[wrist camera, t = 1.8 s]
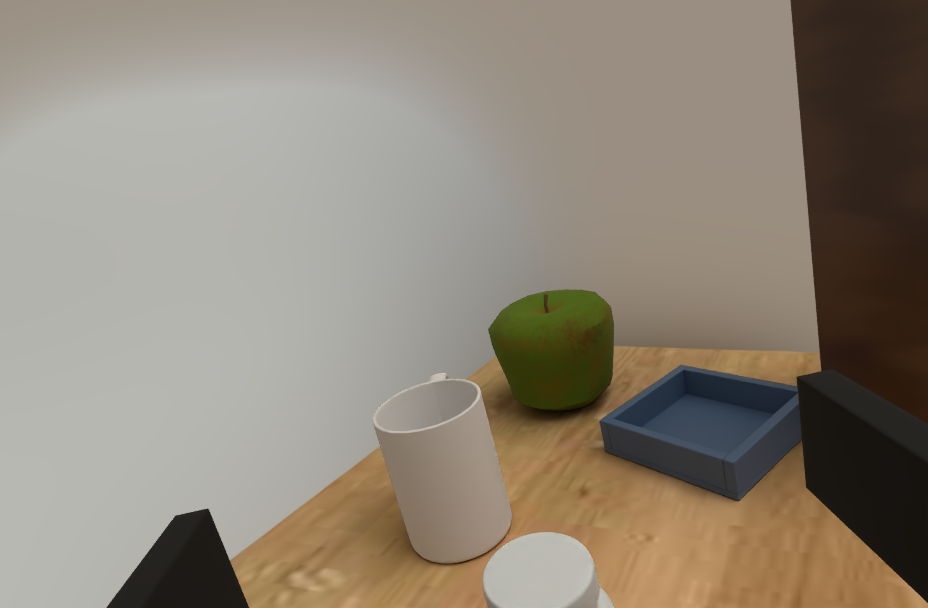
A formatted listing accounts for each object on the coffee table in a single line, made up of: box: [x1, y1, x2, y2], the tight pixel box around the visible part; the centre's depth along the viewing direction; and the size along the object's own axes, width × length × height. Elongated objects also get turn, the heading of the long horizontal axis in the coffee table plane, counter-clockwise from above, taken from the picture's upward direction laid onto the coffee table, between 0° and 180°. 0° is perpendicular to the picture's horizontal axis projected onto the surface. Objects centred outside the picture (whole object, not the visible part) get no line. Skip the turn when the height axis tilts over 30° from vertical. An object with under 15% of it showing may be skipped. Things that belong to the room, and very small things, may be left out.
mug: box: [373, 373, 512, 564], centre depth 44 cm, size 12×8×10 cm, turn 178°
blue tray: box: [600, 365, 802, 501], centre depth 46 cm, size 12×12×3 cm
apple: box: [488, 290, 614, 411], centre depth 58 cm, size 12×12×11 cm
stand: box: [791, 0, 928, 423], centre depth 38 cm, size 10×10×36 cm
